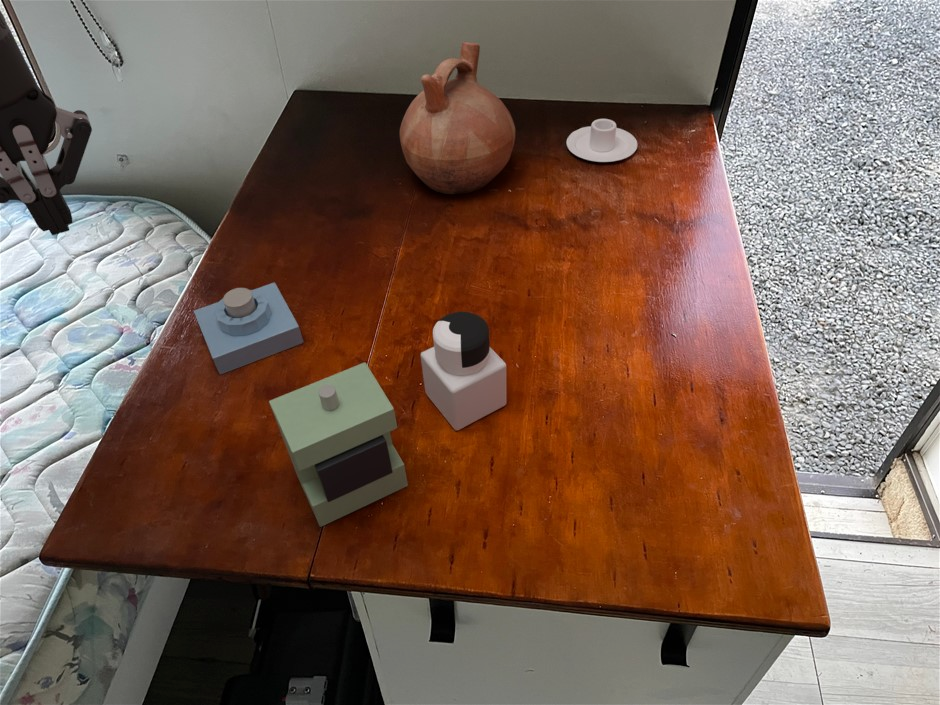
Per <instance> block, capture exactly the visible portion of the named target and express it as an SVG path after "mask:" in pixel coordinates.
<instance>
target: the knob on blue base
mask: <svg viewBox="0 0 940 705" xmlns="http://www.w3.org/2000/svg"><path fill="white" fill-rule="evenodd" d="M249 290H250V291H251V292H252V295H253V298H254V300H255V303H256V309H255V311H254V312H253V313H252V314H251V315H249V316H246V317H243V318H232V317H230V316H229V315H228V313H227V310H226V308H225V305H224V303H223V298H222V299H220V300H219V301H217V302H214V303H211V304H208V305H205V306H203V307H201V308H197V309H194V310H193V313H194V316H195V319H196V321H197V323H198V326H199V329H200V331H201V334H202V335H203V338H204V341H205V344H206V345H207V346H206V347H207V348H208V351H209V353H210V356H211V359H212V360H213V363H214V365H215V367H216V369H217V372H218V374H219V375H220V376H221V375H223V374H227V373H228V372H231V371H234V370H236V369H240V368H242V367H245V366H247V365H250V364H253V363H255V362H257V361H261V360H263V359H266V358H268V357H270V356H274V355H276V354H278V353H281V352H284V351H287V350H289V349H291V348H294V347H297V346H299V345H302V344H304V342H305V341H304V339H303V336H302V332H301V329H300V326H299V324H298V321H297V320H296V318H295V317H294V314H293V313H292V311H291V309H290V308H289V305H288V304H287V302H286V300H285V298H284V296H283V294H282V293H281V291H280V289H279V288H278V285H277V284H276V282H275V281H274V282H271V283H268V284H266V285H262V286H260V287H256V288H254V289H249Z"/></svg>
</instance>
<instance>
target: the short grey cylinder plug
mask: <svg viewBox="0 0 940 705" xmlns="http://www.w3.org/2000/svg"><path fill="white" fill-rule="evenodd" d="M250 290H251V289H248V288H247V287H236V288H233V289H231V290H229V291H227V292H226V293H225V294H224V296H223V297H222V299H223V303H224V305H225V308H226V310H227V313H228V315H229V316H230V317H232V318H243V317H246V316H249V315H251V314H252V313H253V312H254V311H255V309H256V303H255V300H254V298H253V295H252V292H251V291H250Z"/></svg>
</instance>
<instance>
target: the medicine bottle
mask: <svg viewBox="0 0 940 705" xmlns="http://www.w3.org/2000/svg"><path fill="white" fill-rule="evenodd" d="M432 339H433V346H432V347H430V348H428V349H426V350H423V351H421V352H420V363H421V370H422V378H423V384H424V391H425V395H426V396H427V397H428V398H429V400H430V401H431V403H433V405H434V406H435V407H436V408H437V410H438V411H439V413H440V414H441V415H442V416H443V417H444V419H445V420H446V421H447V423H449V426H451V427H452V429H453V430H454V431H457V432H458V431H460V430H462V429H464V428H465V427H467V426H469V425H472V424H473V423H474V422H477V421H479V420H480V419H482V418H484V417H487V416H488V415H491V414H492V413H494V412H496V411H497V410H500V409H501V408H503V407H505V406H506V405H507V403H508V402H507V400H508V399H507V364H506V361H504V360H503V359H502V358H501V357H500V356H499V354H498V353H496V352H495V351H494V349H493V348H492V347H491V346H490V345H491V344H490V328H489V324H488V323H487V321H486V320H485V319H484V318H483V317H481V316H480V315H478V314H476V313H473V312H470V311H453V312H451V313H450V312H449V313H447V314H446V315H444V316H442V317H441V318H440V319H439V320H438V321H437V322H436V323H435V324H434V326H433V328H432Z"/></svg>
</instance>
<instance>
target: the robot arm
mask: <svg viewBox="0 0 940 705" xmlns="http://www.w3.org/2000/svg"><path fill="white" fill-rule="evenodd" d="M56 123H57V124H58V129H59V133H60V135H61V137H62V138H63V142H62V144H61V147H60V151H59V153H58V156H57V159H56V162H55V165H54V166H53V167H50V166H49V164H48V162H47V158H46V156H45V153H46V152H47V151H48V149H49V146H50V142H51V139H52V135H53V131H54V127H55V124H56ZM92 132H93V128H92V125H91V122H90V120H89V116H88V113H86V112H85V111H84V110H82V109H81V110H80V109H78V110H77V109H76V110H74V111H73V112H72V111H69V110H66V109H63V108H60V107H58V106H56V104H55V102H54V101H53V99H52V98H51V97H50V96H49V95H47V94H46V93H45V92H44V91H43V90H42V89H41V88H40V87H39V85H38V83H37V81H36V79H35V77H34V75H33V72H32V71H31V69H30V66H29V65H28V63H27V61H26V59H25V57H24V54H23V53H22V50H21V49H20V47H19V45H18V43H17V41H16V39H15V36H14V34H13V33H12V31H11V29H10V26H9V25H8V23H7V20H6V18H5V16H4V14H3V13H2V10H0V175H1V176H0V204H6V203H8V202H9V201H18V202H21V203H23V204H24V205H25V207H26V209H27V210H28V212H29V214H30V215H31V217H32V219H33V220H34V223H35V224H36V226H37V227H38V229H40V230H41V231H42V232H47V231H49V233H50V234H51V236H56V235H59V234H62V233H67V232H69V231H70V226H69V225H71V224H73V216H72V212H71V209H70V207H69V205H68V204H67V201H66V199H65V197H64V195H63V194H62V191H61V189H62V188H63V187H65V186H66V185H67V186H69V185H71V184H73V183H74V182H75V180H76V178H77V174H78V172H79V169H80V166H81V163H82V160H83V158H84V154H85V153H86V152H85V151H86V149H87V147H88V143H89V140H90V137H91V135H92ZM21 162H26V164H27V167H28V169H29V171H30V173H31V175H32V176H33V179H34V180H35V183H36V185H37V187H36V185H35V184H34V183H33V180H32V178H31V177H30V176H29V173H28V172H27V171H26V169H25V168H24V166H23V165H22V163H21Z"/></svg>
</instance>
